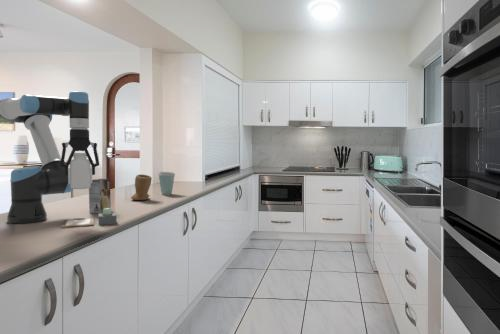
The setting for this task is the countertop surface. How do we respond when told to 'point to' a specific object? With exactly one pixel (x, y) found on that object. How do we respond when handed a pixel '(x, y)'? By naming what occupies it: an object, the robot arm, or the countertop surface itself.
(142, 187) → the stone cup
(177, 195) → the countertop surface
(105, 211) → the button
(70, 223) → the clipboard
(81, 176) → the pill bottle
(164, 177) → the disposable coffee cup
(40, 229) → the countertop surface
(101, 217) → the button housing
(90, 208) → the coffee box
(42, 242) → the countertop surface
